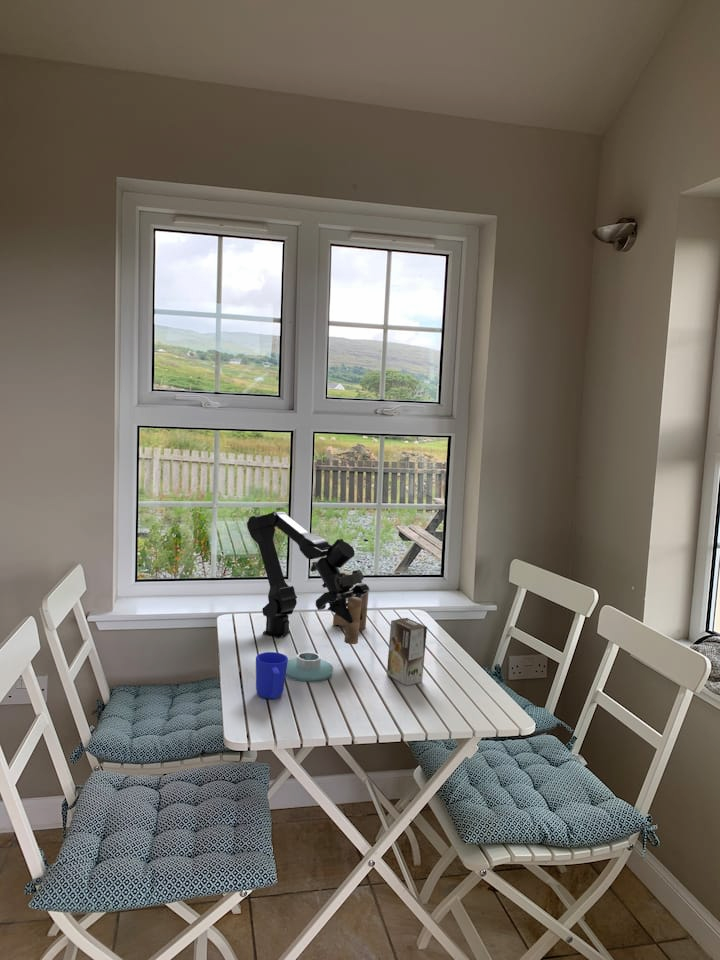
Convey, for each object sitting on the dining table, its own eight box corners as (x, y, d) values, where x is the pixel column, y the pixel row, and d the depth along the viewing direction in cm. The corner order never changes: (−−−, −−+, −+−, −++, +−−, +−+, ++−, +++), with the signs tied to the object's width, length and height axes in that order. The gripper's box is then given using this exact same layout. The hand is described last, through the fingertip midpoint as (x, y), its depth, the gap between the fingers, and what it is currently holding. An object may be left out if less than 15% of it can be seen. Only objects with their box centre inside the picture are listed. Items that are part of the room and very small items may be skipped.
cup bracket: (273, 673, 207) (274, 657, 206) (299, 658, 219) (300, 643, 219) (316, 686, 201) (318, 670, 200) (341, 670, 213) (342, 655, 213)
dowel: (341, 642, 218) (345, 599, 217) (348, 638, 222) (351, 596, 220) (354, 645, 217) (357, 601, 215) (360, 641, 220) (364, 598, 218)
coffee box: (423, 682, 210) (428, 626, 208) (406, 686, 206) (411, 630, 204) (402, 670, 217) (407, 617, 215) (385, 674, 213) (390, 620, 211)
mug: (258, 709, 184) (260, 670, 183) (251, 688, 196) (253, 652, 194) (290, 707, 187) (293, 669, 185) (282, 687, 198) (284, 651, 197)
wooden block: (363, 630, 250) (368, 577, 247) (332, 625, 252) (336, 573, 249) (365, 626, 253) (370, 575, 251) (335, 622, 255) (339, 571, 253)
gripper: (326, 565, 211) (352, 613, 206) (367, 557, 226) (393, 601, 220) (303, 586, 217) (329, 633, 212) (345, 576, 232) (370, 620, 226)
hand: (356, 621), depth 217 cm, fingers closed on dowel, 4 cm apart
